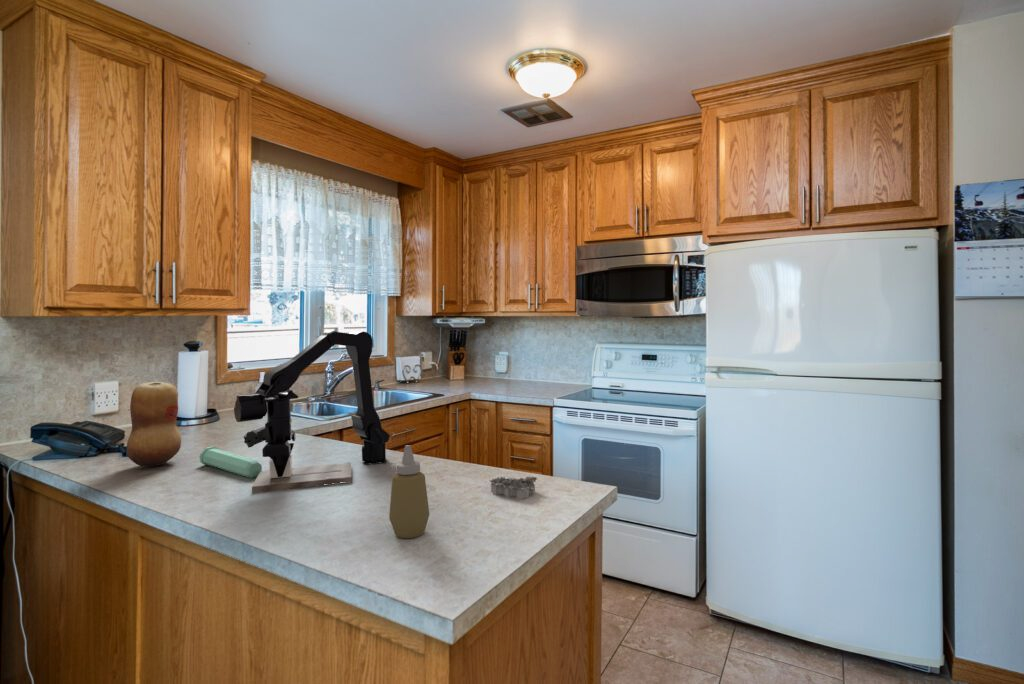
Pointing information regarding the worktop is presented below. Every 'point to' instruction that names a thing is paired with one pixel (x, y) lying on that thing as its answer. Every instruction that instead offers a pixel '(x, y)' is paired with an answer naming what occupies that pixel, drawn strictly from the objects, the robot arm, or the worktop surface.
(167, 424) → the butternut squash
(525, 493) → the egg carton
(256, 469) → the container
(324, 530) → the worktop surface
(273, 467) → the fader knob
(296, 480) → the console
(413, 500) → the squeeze bottle
